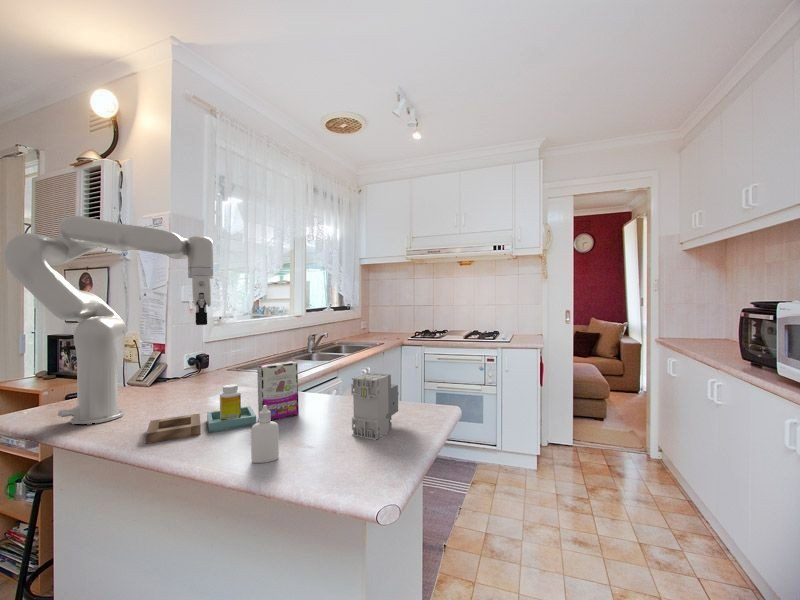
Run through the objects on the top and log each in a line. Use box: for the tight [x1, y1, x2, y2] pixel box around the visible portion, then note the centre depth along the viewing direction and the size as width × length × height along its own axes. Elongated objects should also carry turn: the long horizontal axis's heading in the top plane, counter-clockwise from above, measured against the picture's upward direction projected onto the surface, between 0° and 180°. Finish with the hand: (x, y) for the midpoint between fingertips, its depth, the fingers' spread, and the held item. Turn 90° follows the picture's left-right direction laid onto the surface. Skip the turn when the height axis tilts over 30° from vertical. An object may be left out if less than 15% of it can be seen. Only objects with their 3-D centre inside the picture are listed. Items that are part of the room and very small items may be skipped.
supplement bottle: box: [219, 383, 242, 421], centre depth 105 cm, size 6×6×10 cm
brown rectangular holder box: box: [145, 413, 202, 445], centre depth 98 cm, size 12×12×2 cm
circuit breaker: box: [350, 372, 399, 440], centre depth 98 cm, size 8×14×15 cm, turn 155°
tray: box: [206, 405, 257, 434], centre depth 105 cm, size 12×12×2 cm
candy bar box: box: [256, 360, 300, 421], centre depth 110 cm, size 11×5×16 cm, turn 129°
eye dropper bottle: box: [250, 405, 280, 464], centre depth 79 cm, size 4×6×12 cm
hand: (201, 324), depth 121 cm, fingers open, 9 cm apart
